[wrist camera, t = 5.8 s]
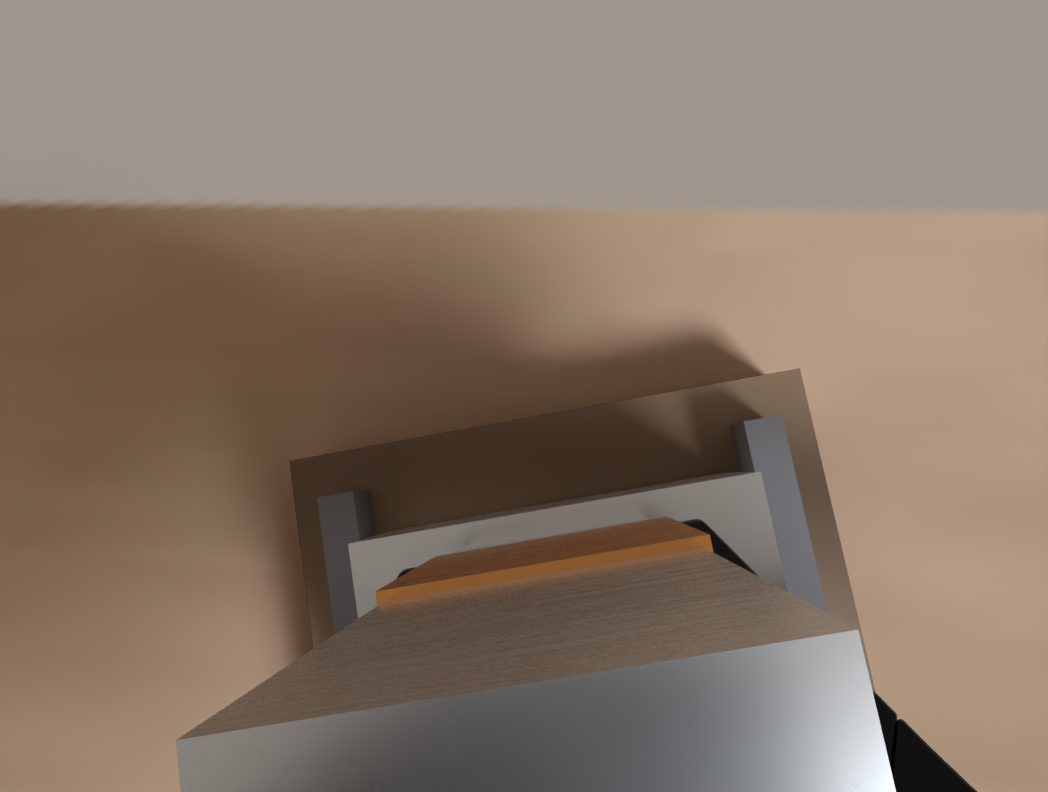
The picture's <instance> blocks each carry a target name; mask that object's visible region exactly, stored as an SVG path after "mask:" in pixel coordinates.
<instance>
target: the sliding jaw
mask: <svg viewBox="0 0 1048 792" xmlns="http://www.w3.org/2000/svg"><path fill="white" fill-rule="evenodd" d="M693 519H700V520H702V521H704V522H705V523H706V524H707V525H708V526H709V527H710V528H711V529H712V530H713V531H714V532H715V533H716V534H717V535H718V536H719V537H720V538H721V539H722V540H723V541H724V542H725V543H726V544H727V545H728V546H729V547H730V548H731V549H732V550H733V551H734V552H735V553H736V554H737V555H738V556H739V557H740V558H741V559H742V560H743V561H744V562H745V563H746V564H747V565H748V566H749V567H750V568H751V569H752V570H753V571H754V572H755V573H756V574H757V575H758V576H757V575H755V574H753V573H751V572H749V571H747V570H745V569H743V568H742V567H740V566H738V565H736V564H734V563H732V562H730V561H728V560H727V559H725V558H723V557H721V556H719V555H717V554H715V553H714V552H713V547H712V543H711V538H710V534H708V533H705V532H703V531H700V530H698V529H696V528H693V527H691V526H688V525H686V524H684V523H681V521H687V520H693ZM348 548H349V555H350V563H351V570H352V577H353V585H354V592H355V599H356V607H357V614H358V619H357V620H356V621H354V622H353V623H351V624H350V625H348V626H347V627H345V628H344V629H342V630H341V631H339V632H338V633H336V634H335V635H333V636H332V637H330V638H329V639H327V640H326V641H324V642H323V643H321V644H320V645H318V646H317V647H315V648H314V649H312V650H311V651H309V652H308V653H306V654H305V655H303V656H302V657H300V658H299V659H297V660H296V661H294V662H293V663H291V664H290V665H288V666H287V667H285V668H284V669H282V670H281V671H279V672H278V673H276V674H275V675H273V676H272V677H270V678H269V679H267V680H266V681H264V682H263V683H261V684H260V685H258V686H257V687H255V688H254V689H252V690H251V691H249V692H248V693H246V694H245V695H243V696H242V697H240V698H239V699H237V700H236V701H234V702H233V703H231V704H230V705H228V706H227V707H225V708H224V709H222V710H221V711H219V712H218V713H216V714H215V715H213V716H212V717H210V718H209V719H207V720H206V721H204V722H203V723H201V724H200V725H198V726H197V727H195V728H194V729H192V730H191V731H189V732H188V733H186V734H185V735H183V736H182V737H180V738H179V739H177V740H176V746H177V756H178V766H179V776H180V786H181V792H896V789H895V785H894V780H893V776H892V772H891V767H890V763H889V759H888V755H887V750H886V746H885V742H884V737H883V733H882V729H881V725H880V720H879V716H878V712H877V707H876V703H875V699H874V695H873V690H872V686H871V682H870V678H869V673H868V669H867V665H866V660H865V656H864V652H863V648H862V643H861V639H860V635H859V630H858V629H856V628H854V627H852V626H851V625H849V624H847V623H845V622H843V621H841V620H839V619H837V618H836V617H834V616H832V615H830V614H828V613H826V612H824V611H822V610H821V609H819V608H817V607H815V606H813V605H811V604H809V603H807V602H805V601H804V600H802V599H800V598H798V597H796V596H794V595H792V594H790V593H789V592H787V588H786V583H785V579H784V574H783V569H782V565H781V560H780V556H779V551H778V547H777V542H776V538H775V533H774V529H773V524H772V520H771V515H770V511H769V506H768V502H767V497H766V493H765V488H764V484H763V479H762V475H761V472H725V473H717V474H712V475H706V476H700V477H695V478H689V479H683V480H677V481H672V482H666V483H660V484H655V485H649V486H643V487H637V488H632V489H626V490H620V491H615V492H609V493H603V494H598V495H592V496H586V497H580V498H575V499H569V500H563V501H558V502H552V503H546V504H540V505H535V506H529V507H523V508H518V509H512V510H506V511H500V512H495V513H489V514H483V515H478V516H472V517H466V518H460V519H455V520H449V521H443V522H438V523H432V524H426V525H420V526H415V527H409V528H403V529H398V530H392V531H388V532H385V533H382V534H378V535H375V536H372V537H368V538H365V539H362V540H358V541H355V542H352V543H348ZM414 567H416V568H415V569H413V570H411V571H410V572H408V573H406V574H404V575H403V576H401V577H399V578H398V579H396V578H397V577H398V575H399V573H400V572H401V571H403V570H405V569H408V568H414Z"/></svg>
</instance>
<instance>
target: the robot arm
mask: <svg viewBox="0 0 1048 792" xmlns="http://www.w3.org/2000/svg"><path fill="white" fill-rule="evenodd" d="M681 523H684V524H686V525H688V526H691V527H693V528H696V529H698V530H700V531H703V532H705V533H708V534H710V538H711V543H712V547H713V552H714V553H715V554H717V555H719V556H721V557H723V558H725V559H727V560H728V561H730V562H732V563H734V564H736V565H738V566H740V567H742V568H743V569H745V570H747V571H749V572H751V573H753V574H755V575H757V574H756V573H755V572H754V571H753V570H752V569H751V568H750V567H749V566H748V565H747V564H746V563H745V562H744V561H743V560H742V559H741V558H740V557H739V556H738V555H737V554H736V553H735V552H734V551H733V550H732V549H731V548H730V547H729V546H728V545H727V544H726V543H725V542H724V541H723V540H722V539H721V538H720V537H719V536H718V535H717V534H716V533H715V532H714V531H713V530H712V529H711V528H710V527H709V526H708V525H707V524H706V523H705V522H704V521H702V520H700V519H693V520H687V521H681ZM415 568H416V567H414V568H408V569H405V570H403V571H401V572H400V573H399V575H398V577H397V578H396V579H398V578H399V577H401V576H403V575H404V574H406V573H408V572H410V571H411V570H413V569H415ZM757 576H758V575H757ZM873 695H874V699H875V703H876V707H877V712H878V716H879V720H880V725H881V729H882V733H883V737H884V742H885V746H886V750H887V755H888V759H889V763H890V767H891V772H892V776H893V780H894V785H895V789H896V792H977V791H976V790H975V789H974V788H973V787H972V786H970V785H969V784H968V783H967V782H966V781H965V780H964V779H963V778H962V777H961V776H960V775H959V774H958V773H957V772H956V771H955V770H954V769H953V768H952V767H951V766H949V765H948V764H947V763H946V762H945V761H944V760H943V759H942V758H941V757H940V756H939V755H938V754H937V753H936V752H935V751H934V750H933V749H932V748H931V747H930V746H929V745H928V744H927V743H926V742H925V741H924V740H923V739H922V738H921V737H920V736H919V735H918V734H917V733H916V732H915V731H914V730H913V729H912V728H911V727H910V726H909V725H908V724H907V723H906V722H905V721H904V720H902V719H898V720H897V714H896V713H895V712H894V711H893V710H892V709H891V708H890V707H889V706H888V705H887V704H886V703H885V702H884V701H883V700H882V699H881V698H880V697H879V696H878V695H877V694H876V693H875V692H874V691H873Z"/></svg>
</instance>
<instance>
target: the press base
mask: <svg viewBox="0 0 1048 792" xmlns="http://www.w3.org/2000/svg"><path fill="white" fill-rule="evenodd" d="M290 468H291V476H292V484H293V492H294V500H295V508H296V515H297V523H298V531H299V539H300V547H301V555H302V563H303V570H304V578H305V586H306V594H307V602H308V610H309V617H310V625H311V633H312V641H313V649H314V648H315V647H317V646H318V645H320V644H321V643H323V642H324V641H326V640H327V639H329V638H330V637H332V636H333V635H335V634H336V633H338V632H339V631H341V630H342V629H344V628H345V627H347V626H348V625H350V624H351V623H353V622H354V621H356V620H357V619H358V614H357V607H356V599H355V592H354V585H353V577H352V570H351V563H350V555H349V548H348V543H352V542H355V541H358V540H362V539H365V538H368V537H372V536H375V535H378V534H382V533H385V532H388V531H392V530H398V529H403V528H409V527H415V526H420V525H426V524H432V523H438V522H443V521H449V520H455V519H460V518H466V517H472V516H478V515H483V514H489V513H495V512H500V511H506V510H512V509H518V508H523V507H529V506H535V505H540V504H546V503H552V502H558V501H563V500H569V499H575V498H580V497H586V496H592V495H598V494H603V493H609V492H615V491H620V490H626V489H632V488H637V487H643V486H649V485H655V484H660V483H666V482H672V481H677V480H683V479H689V478H695V477H700V476H706V475H712V474H717V473H725V472H761V475H762V479H763V484H764V488H765V493H766V497H767V502H768V506H769V511H770V515H771V520H772V524H773V529H774V533H775V538H776V542H777V547H778V551H779V556H780V560H781V565H782V569H783V574H784V579H785V583H786V588H787V592H789V593H790V594H792V595H794V596H796V597H798V598H800V599H802V600H804V601H805V602H807V603H809V604H811V605H813V606H815V607H817V608H819V609H821V610H822V611H824V612H826V613H828V614H830V615H832V616H834V617H836V618H837V619H839V620H841V621H843V622H845V623H847V624H849V625H851V626H852V627H854V628H856V629H858V630H859V635H860V639H861V643H862V648H863V652H864V656H865V660H866V665H867V669H868V673H869V678H870V682H871V686H872V690H873V691H874V692H875V688H874V684H873V680H872V676H871V671H870V667H869V663H868V658H867V654H866V650H865V646H864V641H863V637H862V633H861V628H860V624H859V620H858V616H857V611H856V607H855V603H854V599H853V594H852V590H851V586H850V581H849V577H848V573H847V569H846V564H845V560H844V556H843V552H842V547H841V543H840V539H839V534H838V530H837V526H836V522H835V517H834V513H833V509H832V505H831V500H830V496H829V492H828V487H827V483H826V479H825V475H824V470H823V466H822V462H821V457H820V453H819V449H818V445H817V440H816V436H815V432H814V428H813V423H812V419H811V415H810V410H809V406H808V402H807V398H806V393H805V389H804V385H803V381H802V376H801V372H800V368H799V369H794V370H788V371H783V372H777V373H771V374H766V375H760V376H755V377H749V378H744V379H738V380H733V381H727V382H722V383H716V384H711V385H705V386H700V387H694V388H689V389H683V390H678V391H672V392H667V393H661V394H656V395H650V396H645V397H639V398H634V399H628V400H623V401H617V402H612V403H606V404H601V405H595V406H590V407H584V408H579V409H573V410H568V411H562V412H557V413H551V414H546V415H540V416H535V417H529V418H524V419H518V420H513V421H507V422H502V423H496V424H491V425H485V426H480V427H474V428H469V429H463V430H458V431H452V432H447V433H441V434H436V435H430V436H425V437H419V438H414V439H408V440H403V441H397V442H392V443H386V444H381V445H375V446H370V447H364V448H359V449H353V450H348V451H342V452H337V453H331V454H326V455H320V456H315V457H309V458H304V459H298V460H293V461H290Z"/></svg>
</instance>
